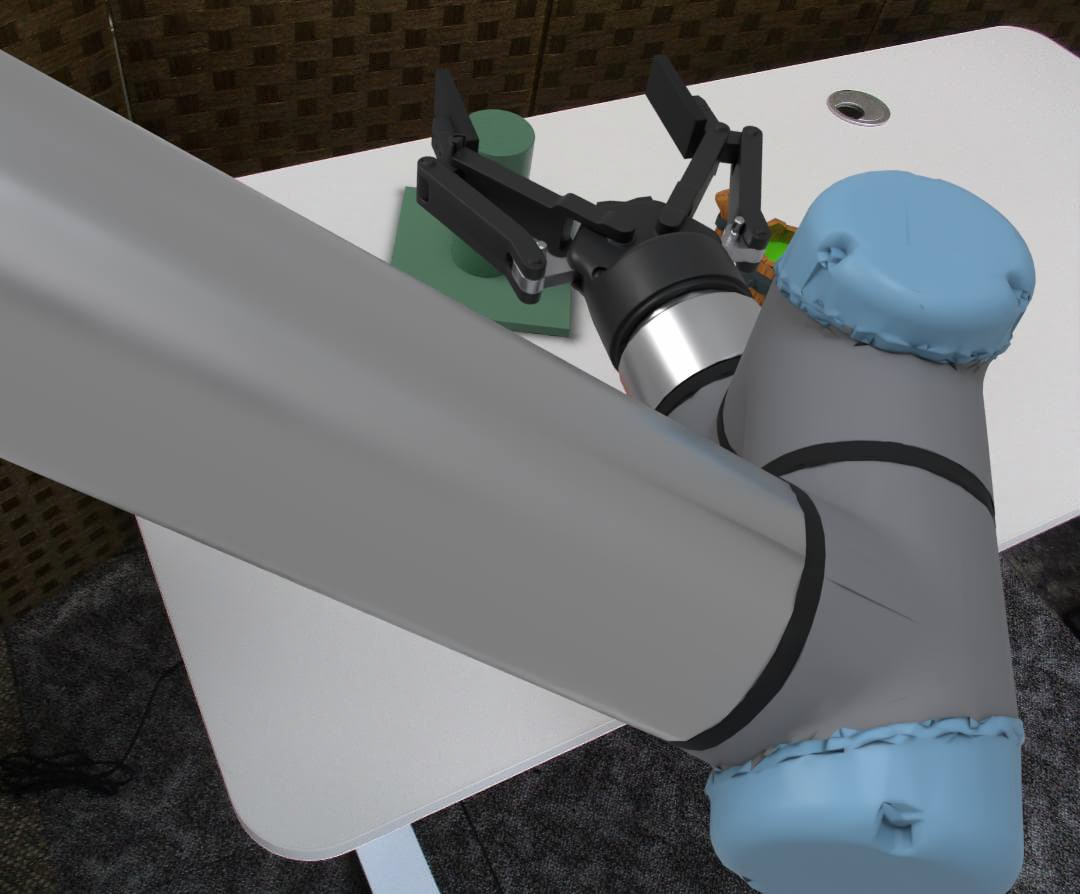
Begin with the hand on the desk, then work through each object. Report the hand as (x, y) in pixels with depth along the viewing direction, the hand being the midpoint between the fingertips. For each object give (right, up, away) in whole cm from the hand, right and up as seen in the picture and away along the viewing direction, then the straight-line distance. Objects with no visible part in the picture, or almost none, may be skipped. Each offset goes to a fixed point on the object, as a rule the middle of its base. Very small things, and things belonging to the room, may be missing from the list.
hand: (551, 81), depth 60 cm
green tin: (-6, -5, +30) cm, 30 cm away
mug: (+17, -11, +30) cm, 36 cm away
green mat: (-6, -5, +30) cm, 31 cm away
